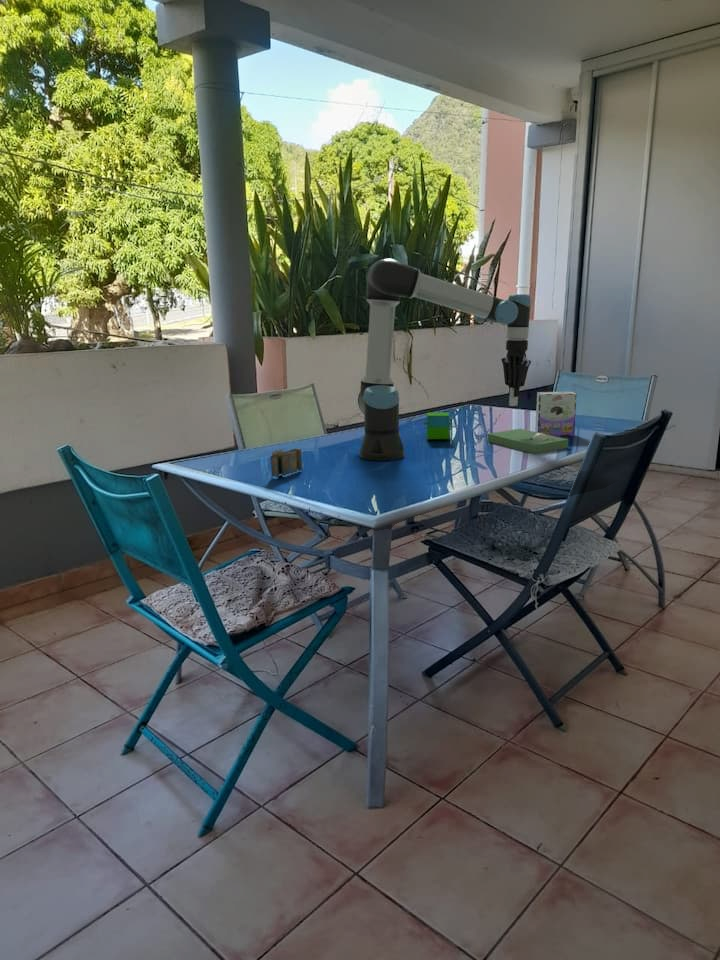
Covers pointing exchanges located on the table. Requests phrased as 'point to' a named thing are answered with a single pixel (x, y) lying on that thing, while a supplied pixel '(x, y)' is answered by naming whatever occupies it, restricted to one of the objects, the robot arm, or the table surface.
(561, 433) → the candy box
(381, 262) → the robot arm
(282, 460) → the ruin model on sheet
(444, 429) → the green toy van
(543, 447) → the putting mat
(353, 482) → the table surface
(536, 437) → the ball
